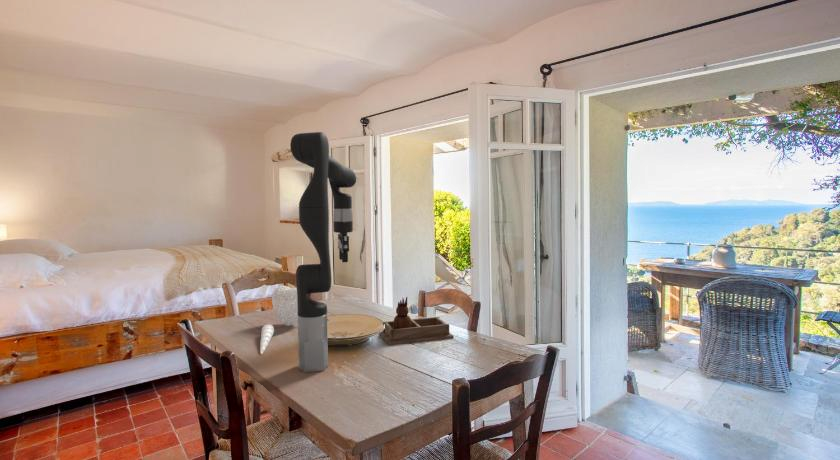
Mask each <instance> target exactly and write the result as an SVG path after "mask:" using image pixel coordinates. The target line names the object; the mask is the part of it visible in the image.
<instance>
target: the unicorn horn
mask: <svg viewBox="0 0 840 460" xmlns="http://www.w3.org/2000/svg"><path fill="white" fill-rule="evenodd" d="M274 332H275V328H274V325H272V324H270V323H269V324H264V325H263V326H262V328H261V333H260V342H259V343H260V346H259V352H260V353H259V354H260V355H263V353H264V352H265V350H266V348H267V347H268V345H269V343H270V341H271V339H272V337H273V335H274V334H275V333H274Z"/></svg>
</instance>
